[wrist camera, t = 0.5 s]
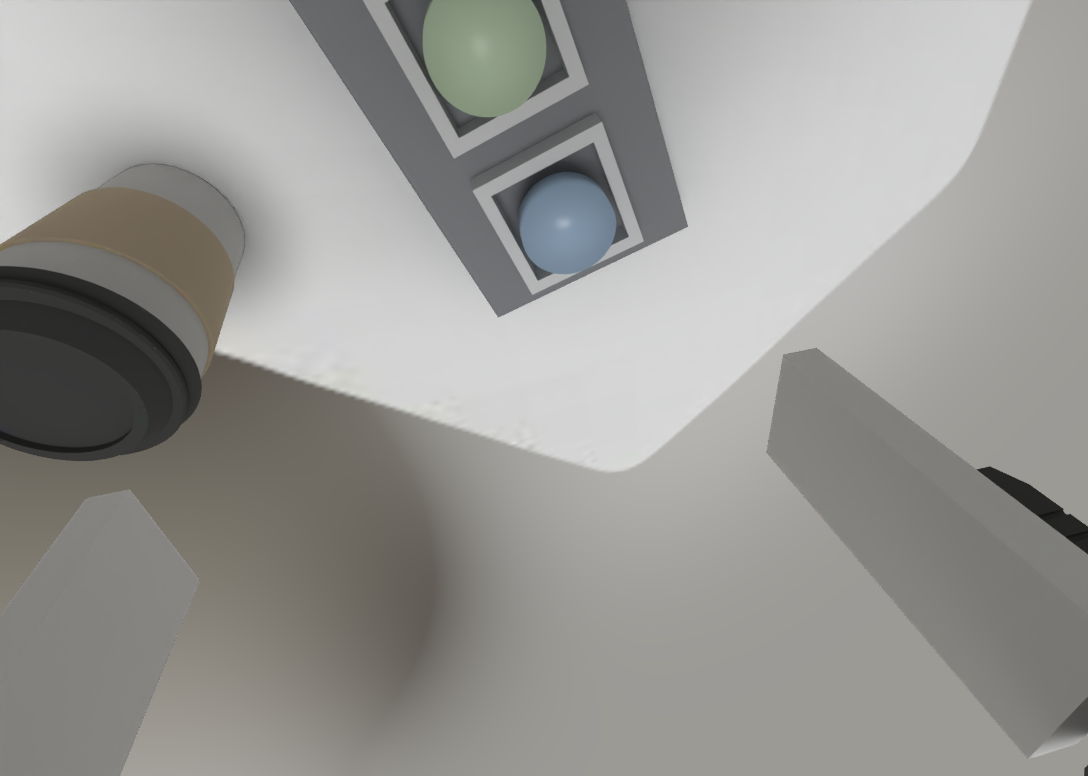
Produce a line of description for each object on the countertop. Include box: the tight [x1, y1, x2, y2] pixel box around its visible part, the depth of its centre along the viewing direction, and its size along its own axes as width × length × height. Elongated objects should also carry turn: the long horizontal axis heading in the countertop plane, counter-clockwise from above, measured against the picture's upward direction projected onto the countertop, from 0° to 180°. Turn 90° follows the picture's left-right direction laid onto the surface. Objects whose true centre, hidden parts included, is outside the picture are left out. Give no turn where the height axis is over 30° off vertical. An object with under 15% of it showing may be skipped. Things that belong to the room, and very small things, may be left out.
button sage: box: [423, 0, 546, 117], centre depth 22 cm, size 5×5×2 cm
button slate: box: [518, 172, 616, 274], centre depth 28 cm, size 5×5×2 cm
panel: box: [289, 0, 688, 317], centre depth 24 cm, size 13×28×4 cm, turn 25°
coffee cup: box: [0, 164, 245, 461], centre depth 25 cm, size 9×9×15 cm
